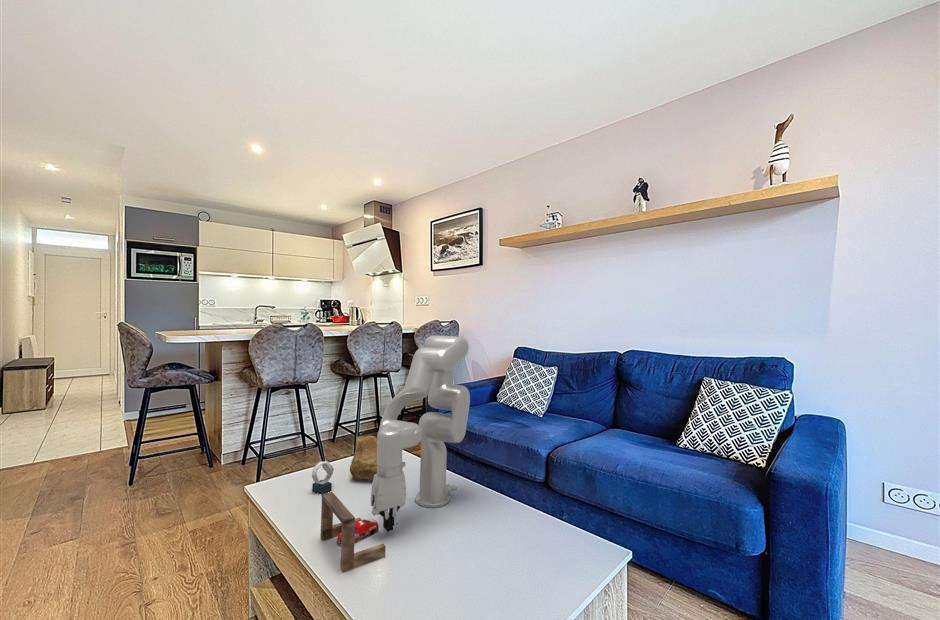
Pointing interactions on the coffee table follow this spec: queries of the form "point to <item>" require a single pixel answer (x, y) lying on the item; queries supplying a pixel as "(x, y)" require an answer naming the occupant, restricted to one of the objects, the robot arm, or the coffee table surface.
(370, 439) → the rough brown rock
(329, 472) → the watch
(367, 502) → the coffee table surface
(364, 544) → the coffee table surface
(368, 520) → the race car
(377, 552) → the walnut tunnel
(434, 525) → the coffee table surface
